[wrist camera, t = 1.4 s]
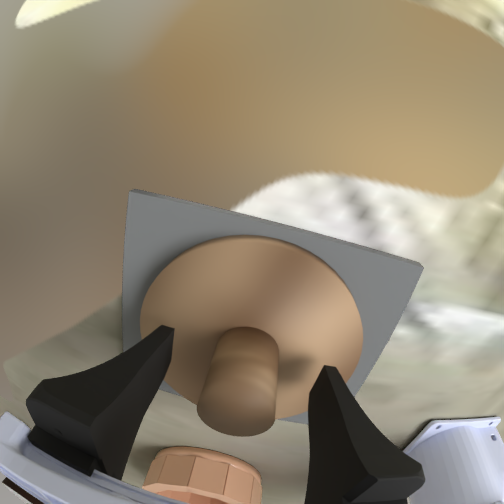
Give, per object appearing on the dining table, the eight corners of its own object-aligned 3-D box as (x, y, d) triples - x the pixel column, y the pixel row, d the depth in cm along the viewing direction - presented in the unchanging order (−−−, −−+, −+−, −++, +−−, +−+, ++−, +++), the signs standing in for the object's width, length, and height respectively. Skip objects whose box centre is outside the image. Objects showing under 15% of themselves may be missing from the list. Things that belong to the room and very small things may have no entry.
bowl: (275, 462, 20) (271, 502, 17) (248, 499, 24) (243, 529, 20) (154, 433, 20) (139, 471, 17) (156, 476, 24) (145, 505, 21)
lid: (393, 269, 13) (436, 332, 8) (314, 420, 17) (316, 486, 12) (157, 208, 13) (95, 247, 8) (145, 379, 17) (114, 438, 12)
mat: (419, 262, 13) (423, 267, 13) (332, 420, 18) (332, 427, 17) (134, 188, 13) (129, 191, 13) (128, 370, 18) (124, 376, 17)
